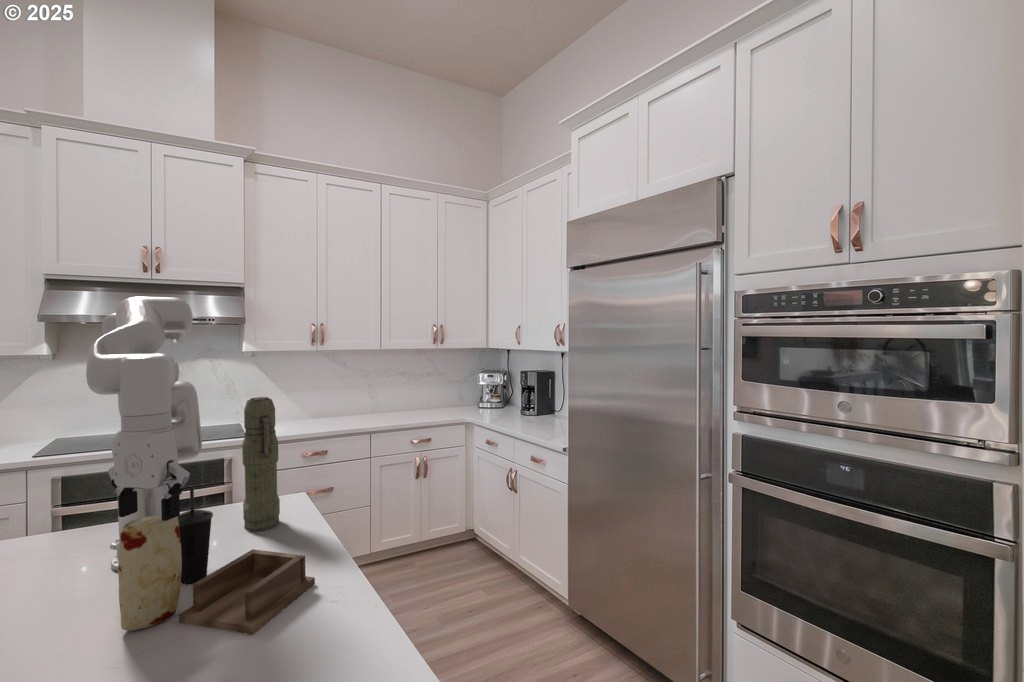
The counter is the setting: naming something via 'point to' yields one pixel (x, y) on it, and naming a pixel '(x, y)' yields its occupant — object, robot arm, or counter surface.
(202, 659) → the counter surface
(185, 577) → the drinking cup
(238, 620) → the dock
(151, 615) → the food model
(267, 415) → the thermos
